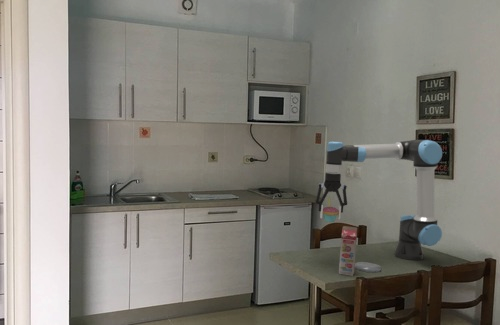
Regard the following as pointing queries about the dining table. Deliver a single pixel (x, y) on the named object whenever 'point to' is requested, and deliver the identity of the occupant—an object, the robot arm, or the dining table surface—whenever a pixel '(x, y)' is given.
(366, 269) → the plate
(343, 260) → the juice carton
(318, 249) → the dining table surface
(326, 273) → the dining table surface
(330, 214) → the cupcake
